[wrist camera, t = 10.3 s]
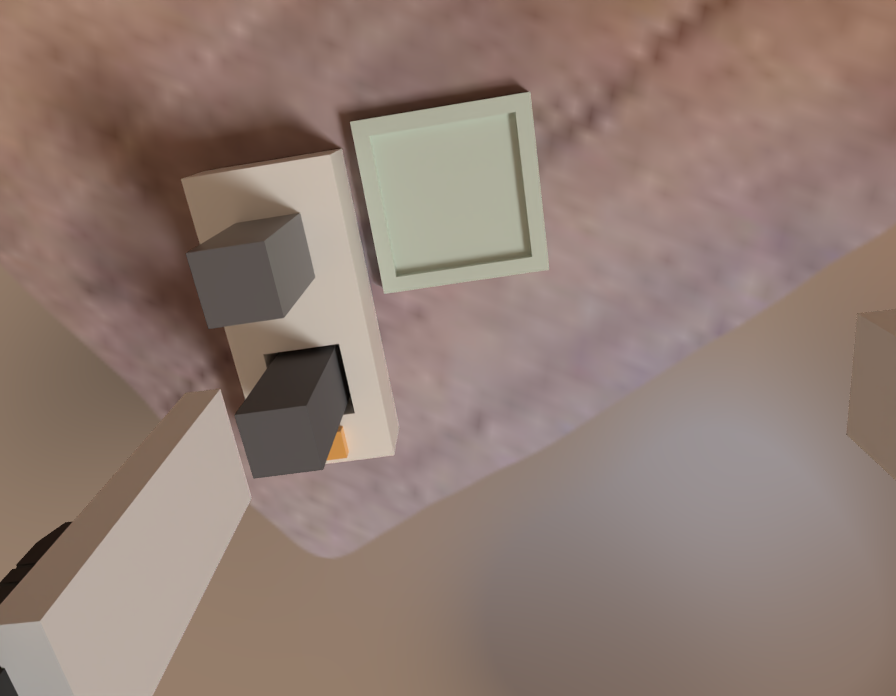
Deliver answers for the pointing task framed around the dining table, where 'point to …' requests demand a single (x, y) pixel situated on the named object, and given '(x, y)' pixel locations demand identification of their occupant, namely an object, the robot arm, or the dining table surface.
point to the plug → (294, 412)
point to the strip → (322, 297)
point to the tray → (453, 192)
